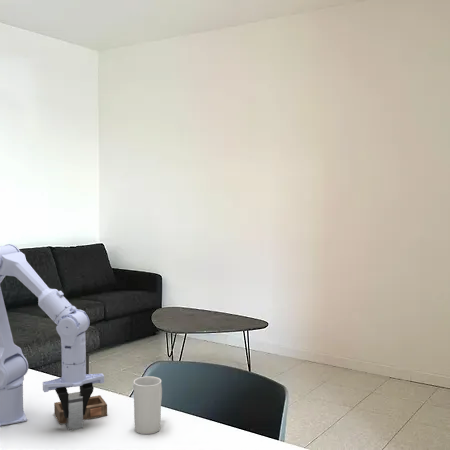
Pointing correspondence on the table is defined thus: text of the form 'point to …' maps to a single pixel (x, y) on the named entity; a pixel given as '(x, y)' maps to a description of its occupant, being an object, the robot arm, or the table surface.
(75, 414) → the plug
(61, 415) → the port block
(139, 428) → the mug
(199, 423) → the table surface
